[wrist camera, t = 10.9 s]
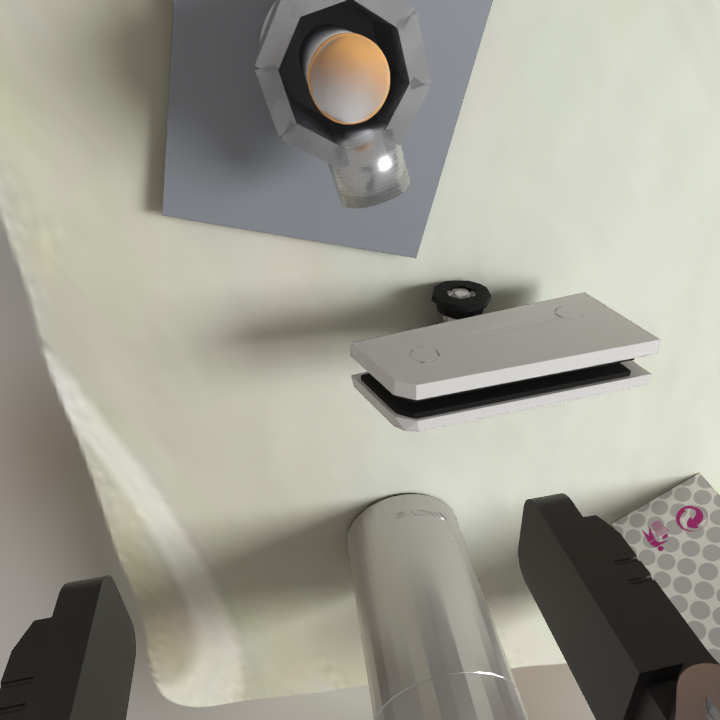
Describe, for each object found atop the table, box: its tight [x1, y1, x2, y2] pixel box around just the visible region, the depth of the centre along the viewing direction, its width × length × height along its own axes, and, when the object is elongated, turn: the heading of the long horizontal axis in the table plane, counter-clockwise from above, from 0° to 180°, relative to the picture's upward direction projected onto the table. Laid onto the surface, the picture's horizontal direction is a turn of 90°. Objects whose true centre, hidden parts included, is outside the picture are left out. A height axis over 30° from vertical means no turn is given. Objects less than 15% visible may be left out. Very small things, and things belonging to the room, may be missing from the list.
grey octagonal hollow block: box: [255, 0, 431, 209], centre depth 24 cm, size 6×8×6 cm
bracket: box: [351, 281, 660, 432], centre depth 32 cm, size 4×10×15 cm
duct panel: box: [162, 0, 493, 258], centre depth 24 cm, size 18×14×9 cm
